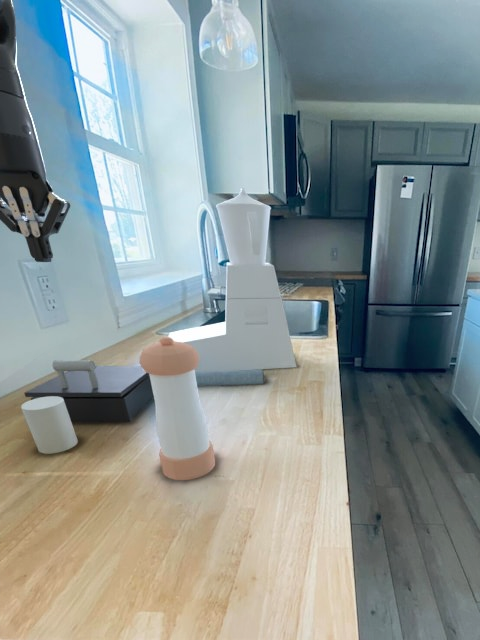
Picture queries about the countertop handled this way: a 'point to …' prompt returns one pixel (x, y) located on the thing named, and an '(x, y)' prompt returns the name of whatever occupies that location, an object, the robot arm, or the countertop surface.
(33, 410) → the container
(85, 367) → the lid
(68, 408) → the black hinged box
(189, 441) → the salt shaker
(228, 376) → the grey folded cloth
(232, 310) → the blender
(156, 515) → the countertop surface
